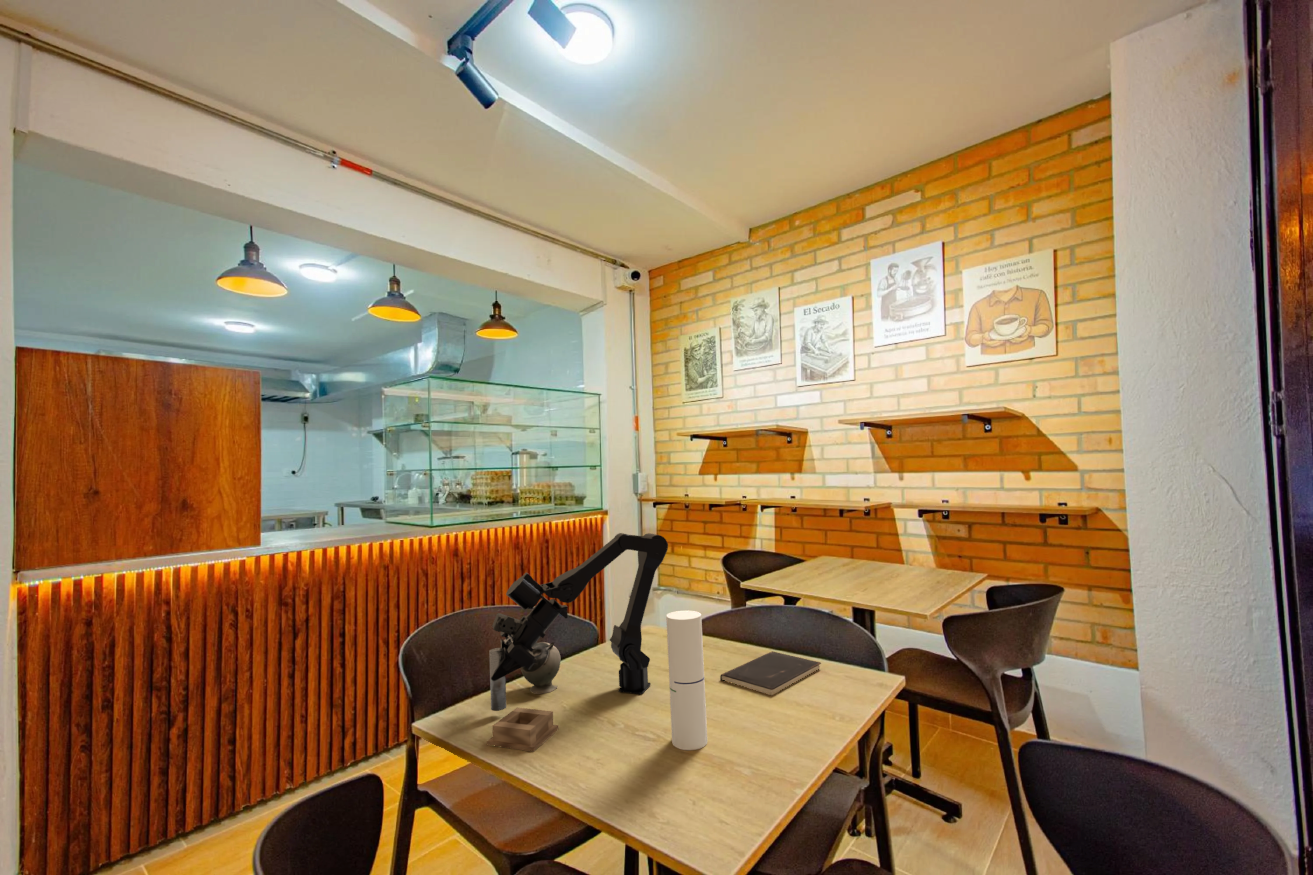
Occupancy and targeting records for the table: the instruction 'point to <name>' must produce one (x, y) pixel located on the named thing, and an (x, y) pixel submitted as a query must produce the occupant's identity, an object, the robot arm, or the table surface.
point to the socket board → (523, 729)
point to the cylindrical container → (686, 680)
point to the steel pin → (497, 681)
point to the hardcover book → (771, 672)
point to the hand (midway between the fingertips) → (491, 677)
